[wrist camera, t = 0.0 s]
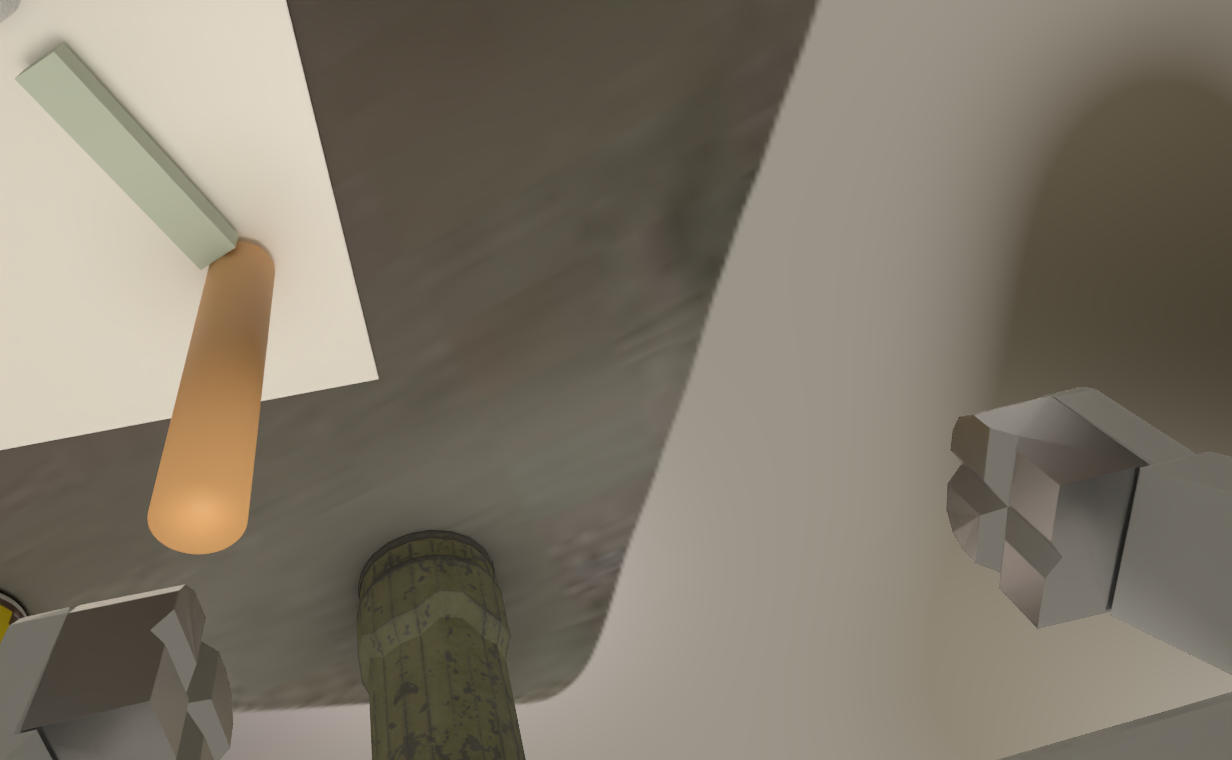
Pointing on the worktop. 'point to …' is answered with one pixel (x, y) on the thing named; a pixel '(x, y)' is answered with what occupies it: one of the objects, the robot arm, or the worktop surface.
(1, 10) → the post
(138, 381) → the base board
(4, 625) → the supplement bottle
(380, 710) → the thermos
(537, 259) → the worktop surface
